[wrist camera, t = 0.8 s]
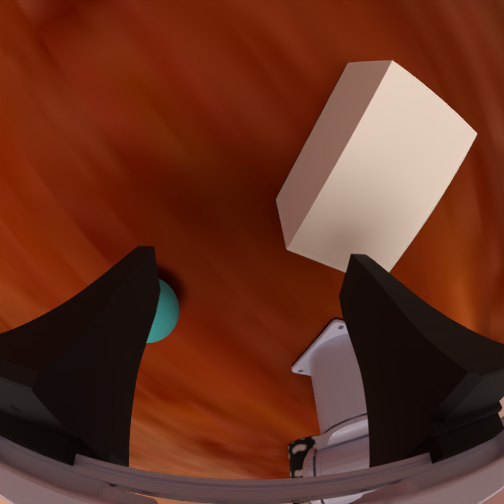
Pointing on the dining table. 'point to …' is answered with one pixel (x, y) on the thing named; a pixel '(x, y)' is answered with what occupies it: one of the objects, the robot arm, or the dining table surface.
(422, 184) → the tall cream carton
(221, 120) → the dining table surface
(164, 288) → the ball
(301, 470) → the white-spotted black cylinder
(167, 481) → the robot arm
